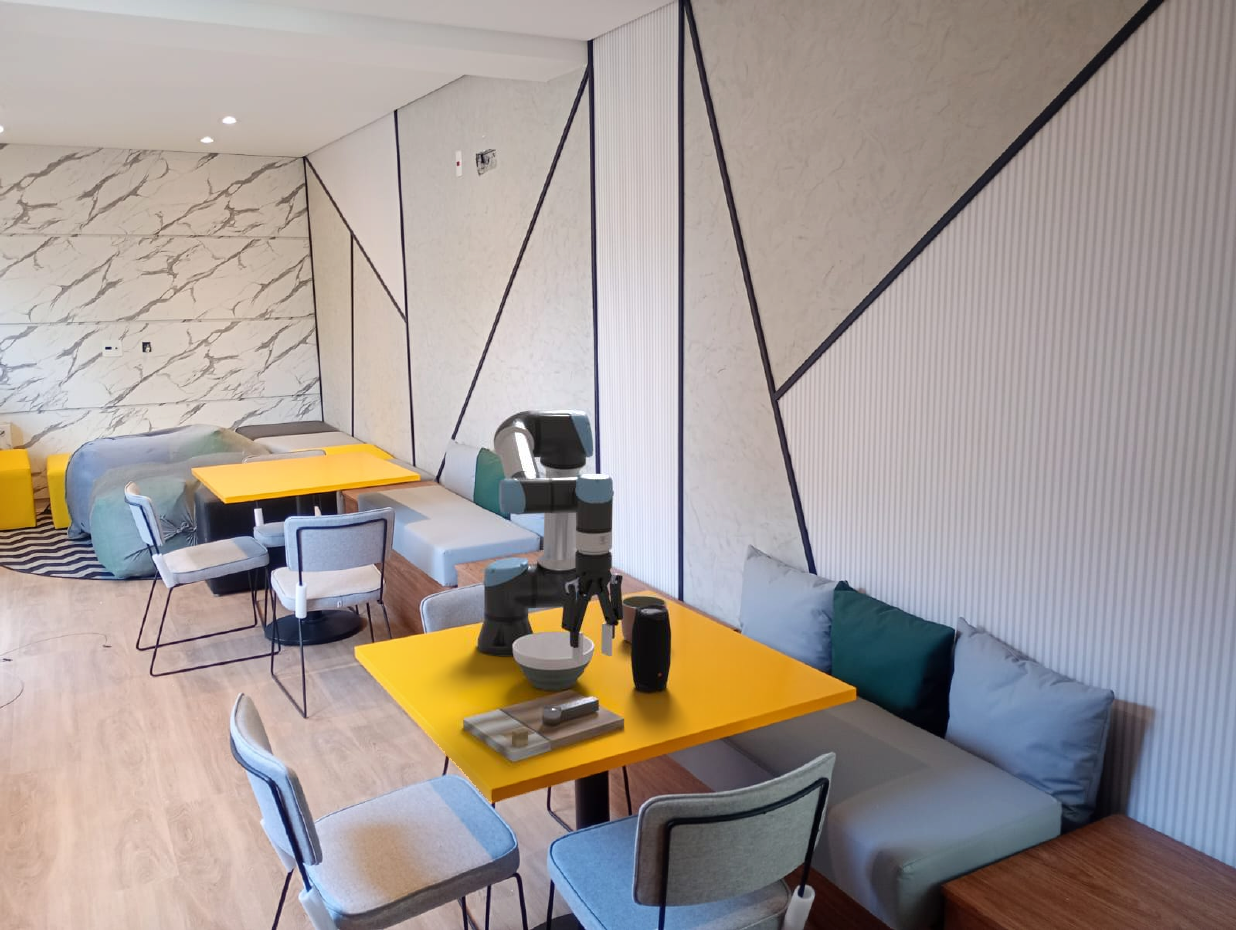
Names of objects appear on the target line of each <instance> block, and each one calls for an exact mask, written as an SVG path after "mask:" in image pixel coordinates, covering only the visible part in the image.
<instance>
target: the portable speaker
mask: <svg viewBox="0 0 1236 930" xmlns="http://www.w3.org/2000/svg"><path fill="white" fill-rule="evenodd" d="M630 645H631V646H630V647H631V651H630V661H631V663H630V665H631V672H632V680H633V684H634V687H635V689H636V691H638V692H640V693H646V694H650V693H651V692H652V691H655V690H661V691H665V690H666V689H667V686H668V685H667V684H668V680H669V676H670V675H669V674H670V668H671V659H672V655H671V654H672V652H671V651H672V628H671V623H670V614H669V610H668V608H667V607H666V608H665V606H663V605H659V604H650V605H647V606H642V607H636V611H635V618H634V623H633V627H632V643H630Z"/></svg>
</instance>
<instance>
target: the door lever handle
mask: <svg viewBox="0 0 1236 930" xmlns="http://www.w3.org/2000/svg"><path fill="white" fill-rule="evenodd" d="M599 703H600V699H598V698H596V697H595V696H593V695H591V696H588V697H585V698H584V699H581V700H577V701H574V702H570V703H566V704H563V705H559V706H555V705H549V706H545V707H543V709H542V722H543V724H545V725H550V726H553V725H558V724H560V723H561V722H562V721H565V720H569V719H572V718H575V717H579V716H582V715H585V714H589V713H592V712H596V711H599V705H600V704H599Z"/></svg>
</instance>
